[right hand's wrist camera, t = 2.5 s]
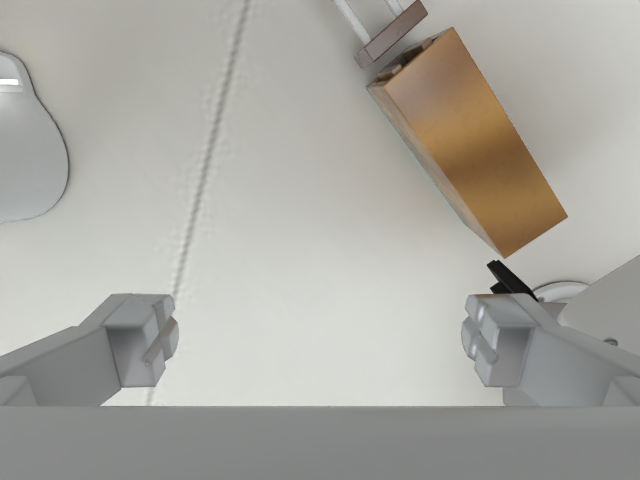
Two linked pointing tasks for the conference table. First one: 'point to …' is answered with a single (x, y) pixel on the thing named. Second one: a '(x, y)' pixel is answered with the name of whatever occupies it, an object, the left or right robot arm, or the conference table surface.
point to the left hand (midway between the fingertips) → (575, 230)
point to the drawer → (388, 36)
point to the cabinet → (469, 145)
